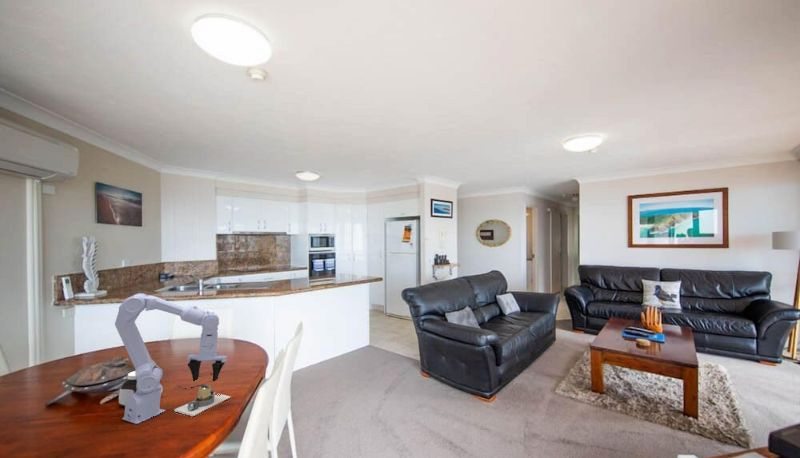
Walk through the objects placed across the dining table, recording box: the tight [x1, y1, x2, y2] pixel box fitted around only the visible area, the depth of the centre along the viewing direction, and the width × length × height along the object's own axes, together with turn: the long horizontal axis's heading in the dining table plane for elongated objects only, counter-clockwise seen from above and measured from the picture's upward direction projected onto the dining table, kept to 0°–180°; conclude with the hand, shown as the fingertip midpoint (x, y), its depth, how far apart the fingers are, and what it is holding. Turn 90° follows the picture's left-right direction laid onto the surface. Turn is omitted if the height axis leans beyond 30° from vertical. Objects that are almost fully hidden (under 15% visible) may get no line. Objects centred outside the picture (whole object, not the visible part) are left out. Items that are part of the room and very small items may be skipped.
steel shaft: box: [187, 401, 199, 411], centre depth 115 cm, size 3×3×2 cm
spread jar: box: [118, 370, 164, 408], centre depth 123 cm, size 12×11×12 cm
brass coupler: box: [197, 384, 212, 402], centre depth 121 cm, size 4×4×7 cm
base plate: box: [173, 392, 231, 416], centre depth 120 cm, size 16×10×3 cm, turn 161°
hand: (205, 380), depth 122 cm, fingers open, 7 cm apart
